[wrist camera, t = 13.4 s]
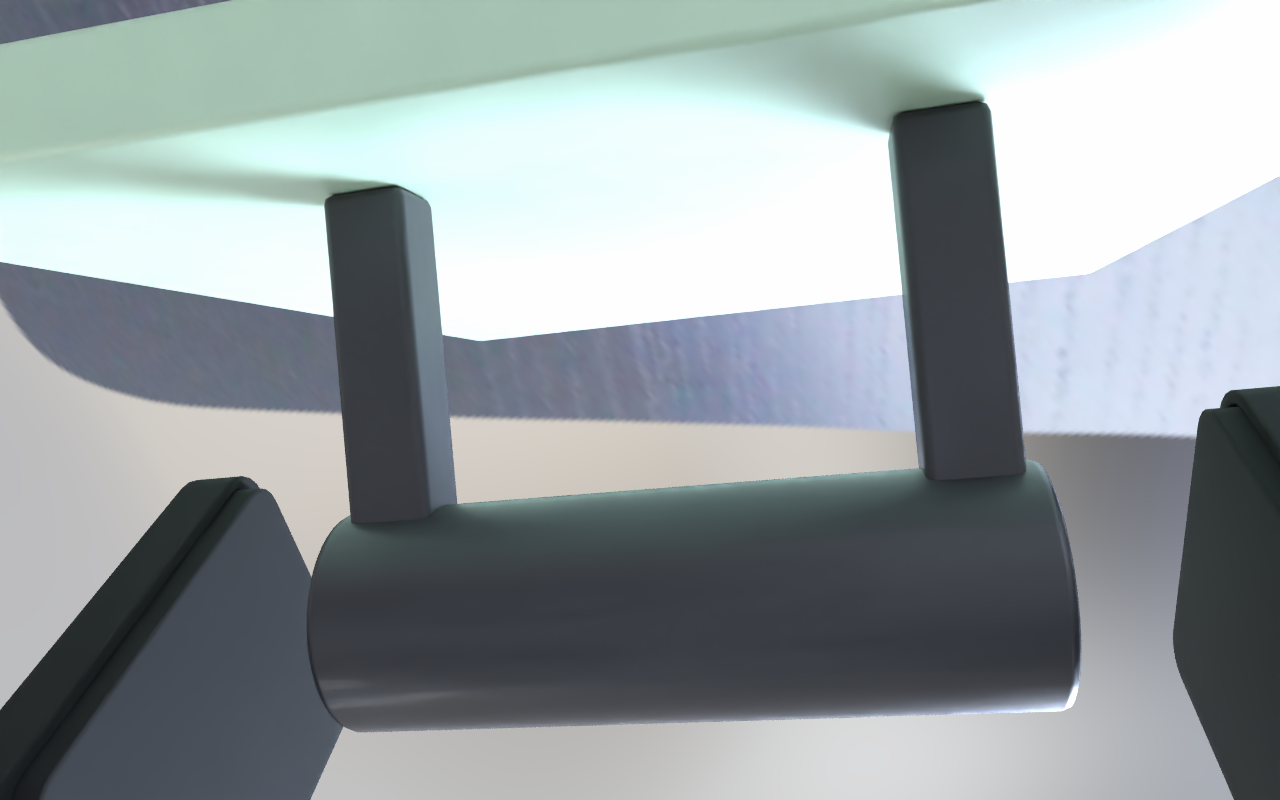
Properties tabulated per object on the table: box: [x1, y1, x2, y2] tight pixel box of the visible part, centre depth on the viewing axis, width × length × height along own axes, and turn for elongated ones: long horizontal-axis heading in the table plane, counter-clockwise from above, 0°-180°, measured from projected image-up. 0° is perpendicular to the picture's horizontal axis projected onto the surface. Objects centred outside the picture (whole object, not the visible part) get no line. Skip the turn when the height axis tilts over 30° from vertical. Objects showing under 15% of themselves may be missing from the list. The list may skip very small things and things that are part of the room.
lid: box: [0, 0, 1280, 732], centre depth 13 cm, size 16×13×5 cm
